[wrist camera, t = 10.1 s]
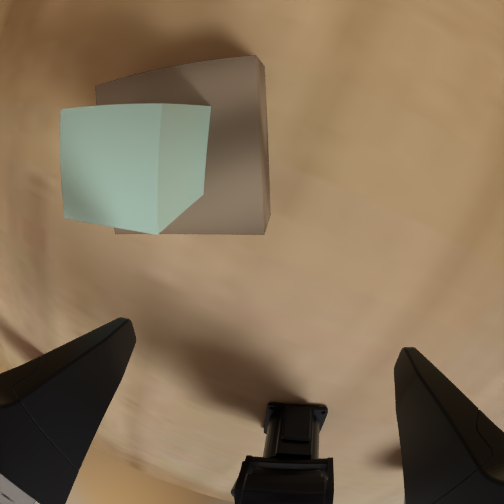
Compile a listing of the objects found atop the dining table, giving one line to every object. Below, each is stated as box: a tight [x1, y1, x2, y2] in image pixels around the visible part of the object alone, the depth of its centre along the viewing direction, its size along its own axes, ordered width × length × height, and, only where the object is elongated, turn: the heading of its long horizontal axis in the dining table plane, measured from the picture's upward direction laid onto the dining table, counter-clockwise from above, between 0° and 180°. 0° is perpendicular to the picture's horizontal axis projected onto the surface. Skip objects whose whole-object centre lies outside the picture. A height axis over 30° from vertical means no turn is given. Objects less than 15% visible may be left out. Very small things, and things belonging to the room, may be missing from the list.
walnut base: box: [96, 55, 271, 235], centre depth 18 cm, size 10×10×4 cm
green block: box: [60, 103, 211, 235], centre depth 13 cm, size 5×5×6 cm
